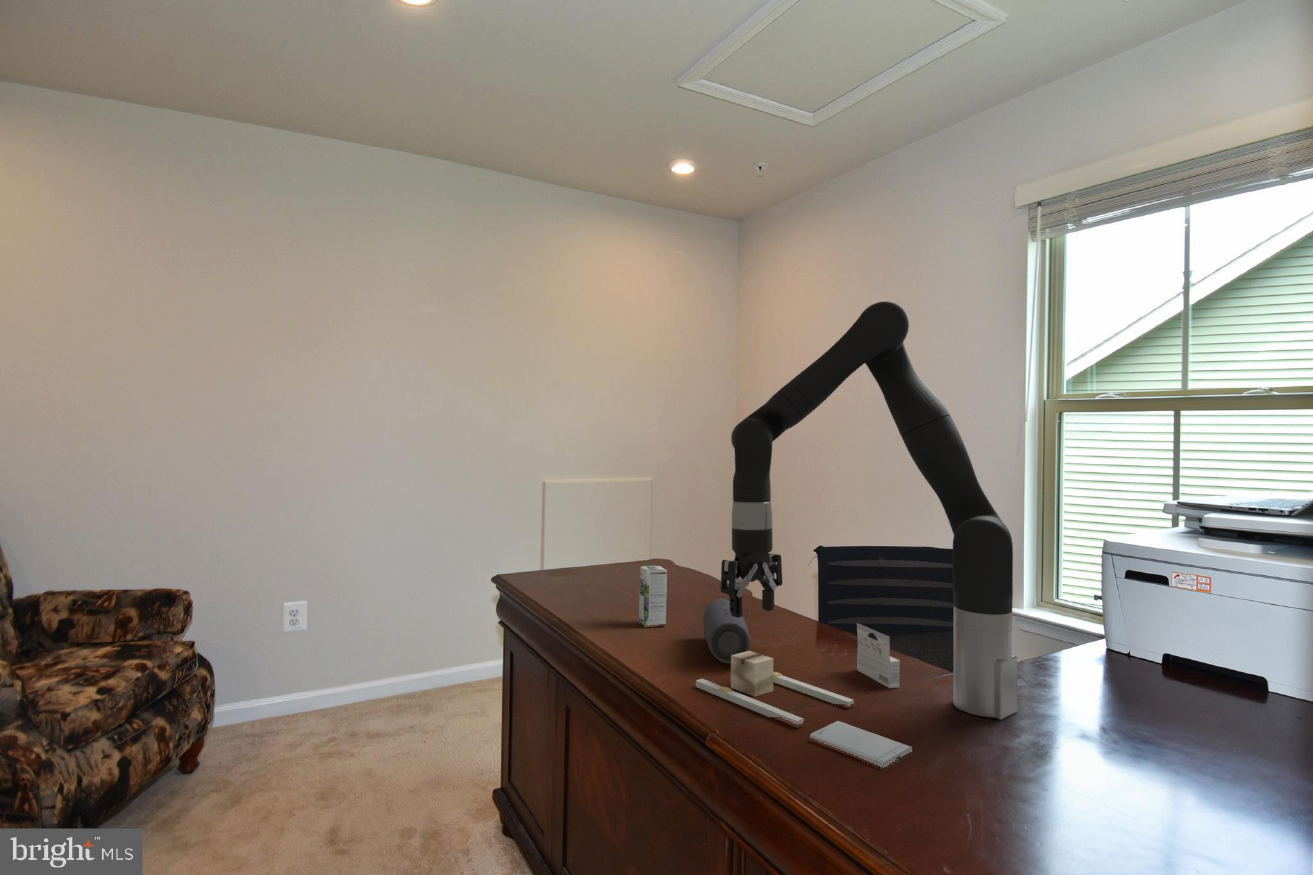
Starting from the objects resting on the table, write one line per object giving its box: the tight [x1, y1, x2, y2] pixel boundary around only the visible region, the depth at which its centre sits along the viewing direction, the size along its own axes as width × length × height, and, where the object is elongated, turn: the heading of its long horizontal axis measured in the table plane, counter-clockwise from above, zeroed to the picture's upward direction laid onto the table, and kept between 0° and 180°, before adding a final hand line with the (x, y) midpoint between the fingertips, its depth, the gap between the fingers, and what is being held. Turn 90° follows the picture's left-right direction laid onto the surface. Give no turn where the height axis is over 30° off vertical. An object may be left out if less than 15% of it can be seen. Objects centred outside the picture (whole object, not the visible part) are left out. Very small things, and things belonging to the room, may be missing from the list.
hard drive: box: [809, 720, 913, 768], centre depth 102 cm, size 2×8×12 cm
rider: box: [730, 650, 774, 698], centre depth 126 cm, size 6×5×6 cm
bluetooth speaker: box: [702, 598, 751, 664], centre depth 148 cm, size 23×9×10 cm, turn 179°
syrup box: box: [638, 565, 668, 626], centre depth 171 cm, size 6×6×14 cm
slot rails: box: [695, 671, 855, 725], centre depth 122 cm, size 24×15×1 cm, turn 39°
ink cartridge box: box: [856, 622, 901, 689], centre depth 132 cm, size 2×11×10 cm, turn 16°
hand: (752, 613), depth 126 cm, fingers open, 8 cm apart
